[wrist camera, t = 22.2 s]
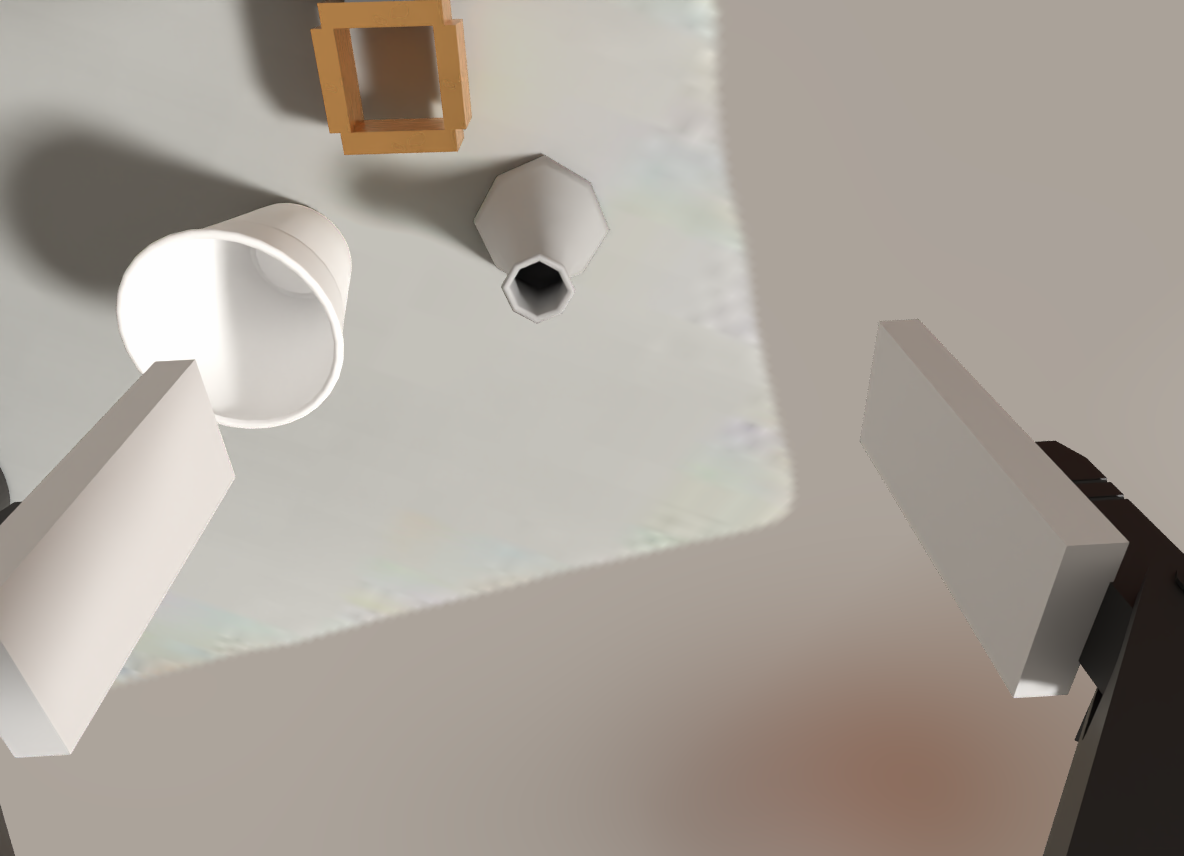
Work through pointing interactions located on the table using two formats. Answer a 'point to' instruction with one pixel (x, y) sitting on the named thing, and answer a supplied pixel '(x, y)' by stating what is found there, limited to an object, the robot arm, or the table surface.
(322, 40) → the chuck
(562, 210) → the flask
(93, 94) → the table surface
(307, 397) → the cup
